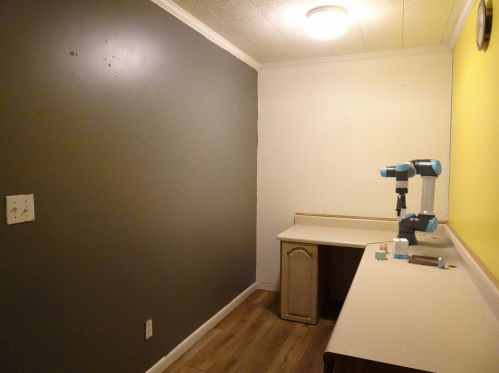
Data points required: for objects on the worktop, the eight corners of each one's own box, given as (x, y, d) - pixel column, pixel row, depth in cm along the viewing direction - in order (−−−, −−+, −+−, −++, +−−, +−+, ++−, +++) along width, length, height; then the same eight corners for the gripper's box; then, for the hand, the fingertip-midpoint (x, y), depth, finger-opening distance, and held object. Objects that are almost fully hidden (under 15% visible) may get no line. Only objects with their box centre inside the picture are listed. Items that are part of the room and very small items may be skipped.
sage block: (374, 257, 235) (375, 249, 234) (384, 257, 233) (384, 250, 233) (375, 259, 229) (376, 252, 229) (385, 260, 228) (385, 252, 227)
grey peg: (437, 266, 213) (438, 256, 212) (444, 267, 211) (445, 257, 210) (437, 268, 210) (437, 258, 209) (444, 269, 208) (444, 258, 207)
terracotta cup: (380, 251, 250) (380, 243, 250) (387, 252, 247) (388, 243, 247) (378, 253, 246) (378, 244, 245) (386, 254, 243) (386, 245, 243)
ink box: (408, 259, 230) (409, 238, 229) (394, 258, 231) (395, 238, 231) (405, 255, 238) (406, 235, 237) (392, 255, 240) (392, 235, 239)
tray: (412, 257, 233) (412, 254, 233) (440, 261, 225) (440, 258, 225) (408, 262, 221) (408, 259, 221) (437, 266, 212) (437, 263, 212)
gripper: (399, 186, 244) (398, 217, 246) (391, 188, 224) (390, 221, 225) (411, 186, 240) (410, 218, 242) (404, 188, 219) (403, 222, 221)
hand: (400, 219), depth 233 cm, fingers open, 13 cm apart
